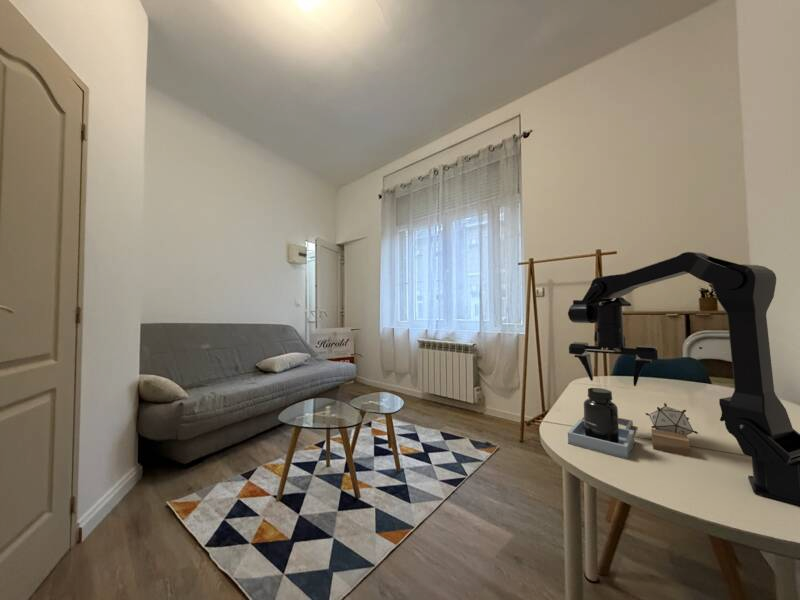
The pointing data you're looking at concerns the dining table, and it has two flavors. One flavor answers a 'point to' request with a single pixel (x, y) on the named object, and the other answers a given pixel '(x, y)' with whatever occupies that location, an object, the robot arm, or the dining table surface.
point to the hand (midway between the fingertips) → (612, 383)
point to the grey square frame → (624, 422)
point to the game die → (671, 420)
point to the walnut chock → (670, 442)
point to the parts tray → (602, 441)
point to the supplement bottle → (601, 415)
